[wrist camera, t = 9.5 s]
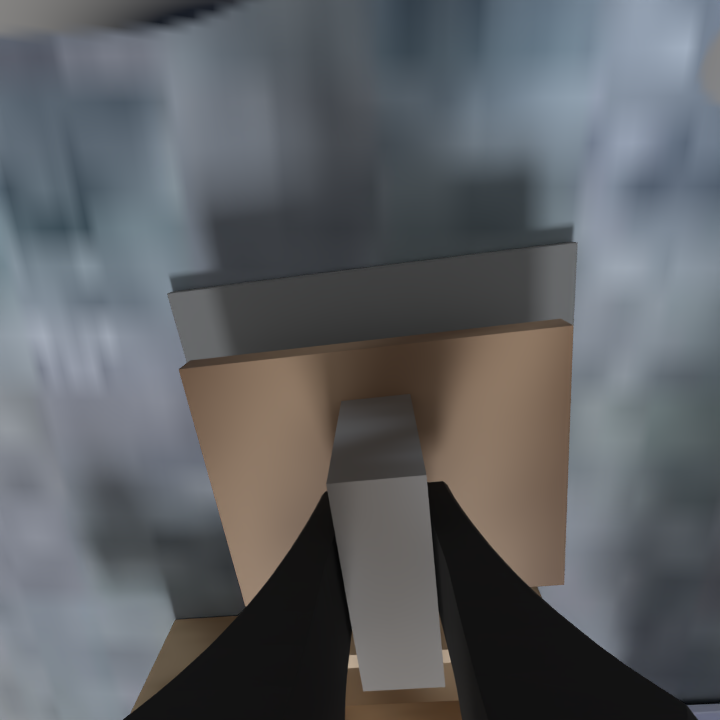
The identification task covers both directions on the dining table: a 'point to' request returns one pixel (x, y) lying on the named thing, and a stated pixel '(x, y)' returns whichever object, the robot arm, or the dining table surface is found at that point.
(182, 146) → the dining table surface
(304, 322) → the mat
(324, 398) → the lid
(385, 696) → the open wooden box
